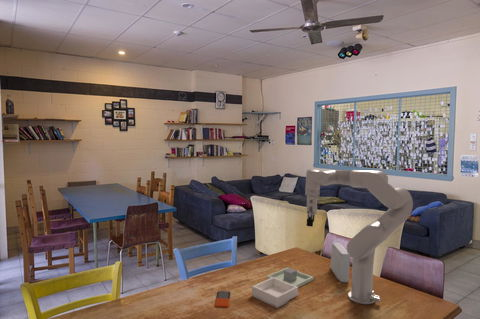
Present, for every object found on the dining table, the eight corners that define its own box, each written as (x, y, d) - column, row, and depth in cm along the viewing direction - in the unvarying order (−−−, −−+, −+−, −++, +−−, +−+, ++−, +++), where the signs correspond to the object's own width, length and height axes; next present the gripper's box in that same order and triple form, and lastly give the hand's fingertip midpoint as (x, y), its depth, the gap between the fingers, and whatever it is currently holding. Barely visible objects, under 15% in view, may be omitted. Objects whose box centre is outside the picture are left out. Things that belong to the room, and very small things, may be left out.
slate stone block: (296, 279, 180) (296, 270, 180) (291, 282, 177) (291, 273, 177) (289, 276, 184) (289, 267, 184) (283, 279, 180) (283, 270, 180)
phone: (214, 305, 151) (217, 290, 166) (214, 308, 151) (217, 293, 166) (228, 306, 151) (230, 291, 166) (228, 308, 151) (230, 293, 166)
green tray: (313, 281, 180) (313, 276, 180) (293, 291, 168) (293, 286, 168) (287, 271, 193) (287, 267, 193) (266, 280, 181) (266, 275, 180)
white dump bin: (297, 296, 162) (298, 287, 162) (277, 308, 151) (277, 297, 151) (273, 286, 174) (273, 276, 173) (252, 295, 162) (252, 286, 162)
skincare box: (349, 282, 179) (350, 254, 178) (339, 282, 179) (340, 254, 178) (339, 267, 200) (339, 242, 199) (330, 267, 200) (330, 241, 199)
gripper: (318, 196, 167) (316, 229, 169) (320, 190, 184) (318, 220, 185) (303, 194, 169) (301, 227, 171) (306, 189, 186) (304, 219, 187)
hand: (310, 223), depth 178 cm, fingers open, 9 cm apart
